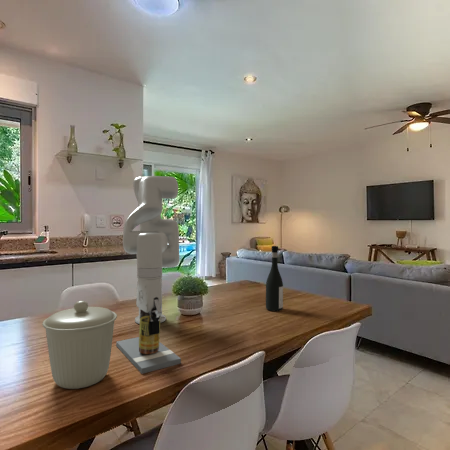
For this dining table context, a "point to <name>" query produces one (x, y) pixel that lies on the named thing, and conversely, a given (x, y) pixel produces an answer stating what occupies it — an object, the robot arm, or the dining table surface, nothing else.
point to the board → (147, 356)
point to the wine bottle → (274, 285)
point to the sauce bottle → (147, 335)
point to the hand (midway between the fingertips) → (149, 330)
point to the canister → (79, 344)
